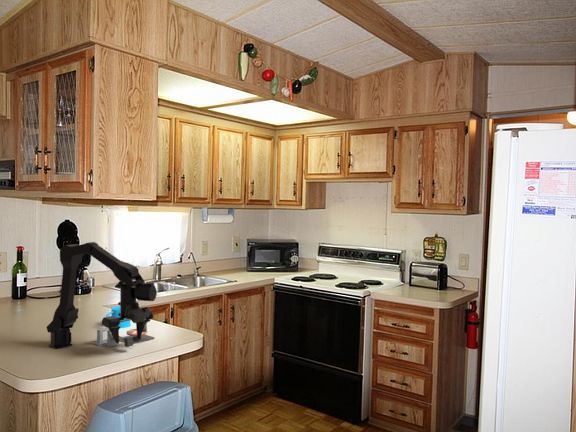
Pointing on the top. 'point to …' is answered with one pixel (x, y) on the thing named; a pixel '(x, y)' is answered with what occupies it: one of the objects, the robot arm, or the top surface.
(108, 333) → the eye bracket
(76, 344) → the top surface
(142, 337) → the wheel mount
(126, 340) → the hook rod
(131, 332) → the handwheel
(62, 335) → the robot arm
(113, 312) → the mug
